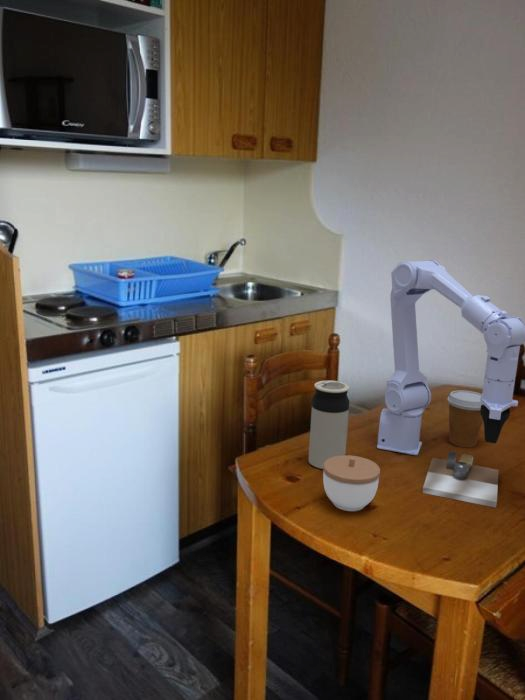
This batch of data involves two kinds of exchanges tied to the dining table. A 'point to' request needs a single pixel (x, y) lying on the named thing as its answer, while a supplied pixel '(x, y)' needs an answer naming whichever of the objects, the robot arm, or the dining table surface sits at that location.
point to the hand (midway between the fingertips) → (490, 441)
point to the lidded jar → (350, 481)
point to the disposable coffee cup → (464, 417)
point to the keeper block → (451, 460)
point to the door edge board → (462, 484)
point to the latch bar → (463, 466)
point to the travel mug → (328, 422)
